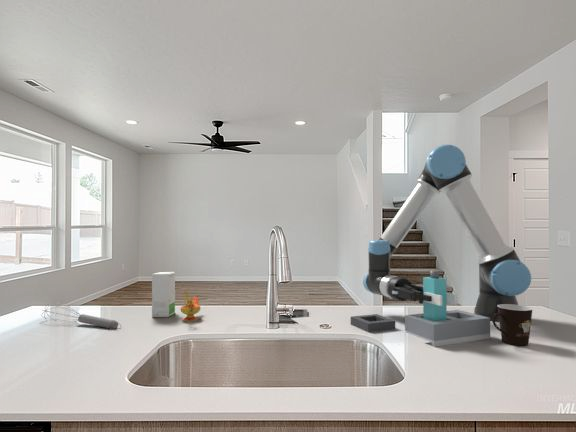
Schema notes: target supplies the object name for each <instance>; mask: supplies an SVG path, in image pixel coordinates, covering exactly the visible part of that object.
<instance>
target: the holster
mask: <svg viewBox="0 0 576 432" xmlns="http://www.w3.org/2000/svg"><path fill="white" fill-rule="evenodd" d="M350 325H351V326H352V327H353V326H354V327H355V328H358V329H360V330H362V331H364V332H366V333H372V332H373V333H374V332H375V333H376V332H381V331H390V330H391V331H392V330H396V320H394V319H391V318H389V317H386V316H383V315H380V314H378V313H374V314H365V315H364V314H362V315H354V316H350Z"/></svg>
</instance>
